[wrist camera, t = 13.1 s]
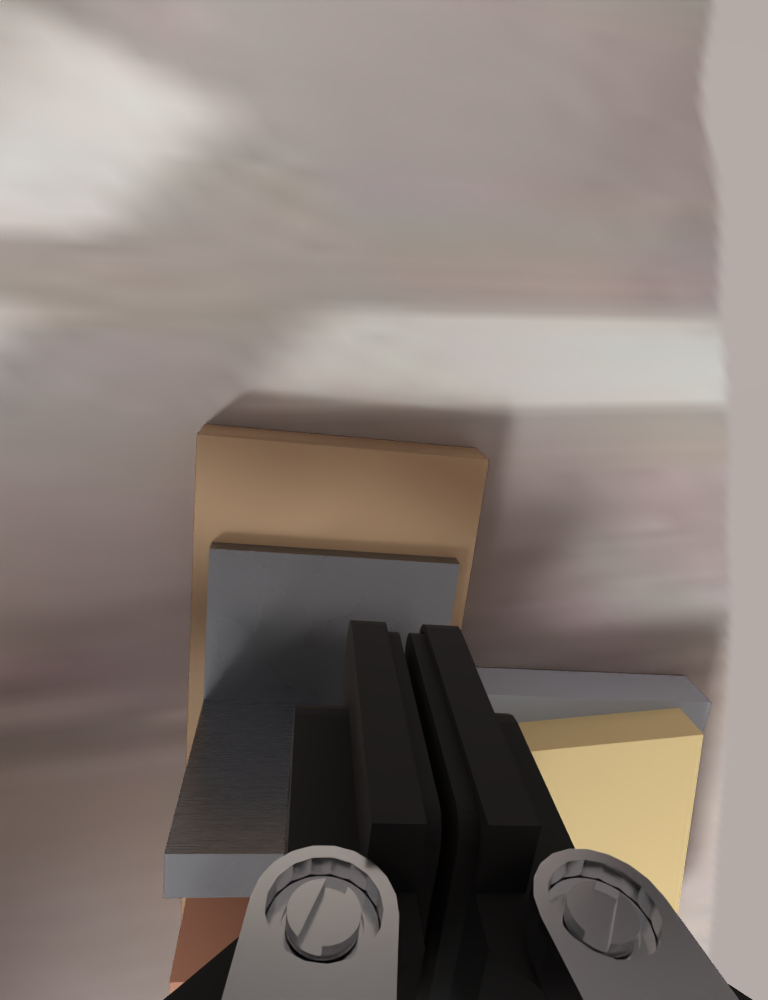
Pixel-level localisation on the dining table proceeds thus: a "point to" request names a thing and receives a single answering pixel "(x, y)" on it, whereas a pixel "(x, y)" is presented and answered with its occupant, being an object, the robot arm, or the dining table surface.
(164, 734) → the dining table surface
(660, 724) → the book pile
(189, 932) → the terracotta book
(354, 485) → the shelf
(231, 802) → the bookend
